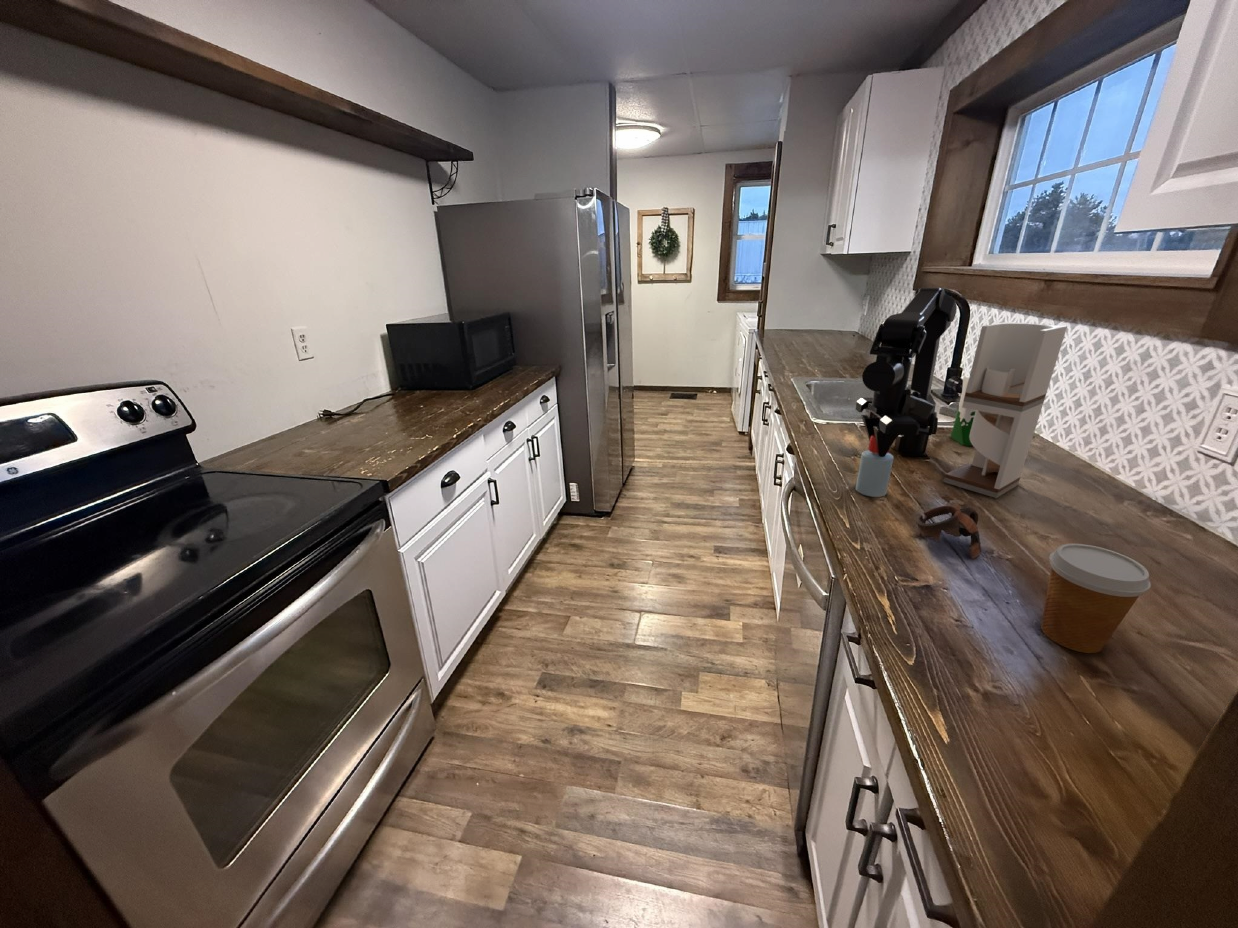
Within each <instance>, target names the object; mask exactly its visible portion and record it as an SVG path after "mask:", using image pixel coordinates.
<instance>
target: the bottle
mask: <svg viewBox="0 0 1238 928" xmlns="http://www.w3.org/2000/svg"><path fill="white" fill-rule="evenodd" d="M894 459H895V458H894V455H893V454H892V453H890V452H888V453H887V454H886V455H885V457H880V456H879V454H877V453H873V452H871V451H869V449H868V450H867V449H866V450H864V451H862V452H861V456H860V463H859V468H858V473H857V479H856V483H855V484H856V485H855V491H856V492H857V493H858V494H861V495H863V496H866V497H873V498H880V497H885V496H886V495H887V493H888V487H889V482H890V477H891V473H892V469H893V463H894Z"/></svg>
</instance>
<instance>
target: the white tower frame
mask: <svg viewBox="0 0 1238 928" xmlns="http://www.w3.org/2000/svg"><path fill="white" fill-rule="evenodd" d="M1067 328H1068V325H1059V324H1058V325H1056V324H1042V323H1041V324H1040V323H1027V322H1025V323H1024V322H1013V321H1012V322H1009V321H1004V322H997V323H992V324H987V325H982V326H981V328H980V333H979V337H978V341H977V345H976V349H975V352H974V356H973V361H972V365H971V369H970V373H969V376H970V377H969V381H968V385H967V389H966V393H965V397H964V401H963V405H962V408H967V409H972V410H976V412H975V416H974V419H973V423H972V427H971V431H970V435H969V439H970V442H971V444H972V445H973V448H974V449H975V451H974V456H973V459H972V463H971V462H967V463H964V464H963V465H961V466H958V467H956V468H954V469H952V470H950V471H948V472H946V473H945V474H944V478H943V481H942V482H943V483H945V484H948V485H952V486H954V487H959V488H962V489H965V490H968V491H971V492H975V493H978V494H981V495H984V496H988V497H991V498H995V499H998V498H999V497H1000V496H1002V495H1004V494H1006V493H1007V492H1009V491H1011V490H1012V489H1014V488H1016V487H1017V486H1019V482H1020V481H1021V480H1020V479H1021V476H1022V473H1023V470H1024V467H1025V464H1026V460H1027V457H1028V454H1029V450H1030V447H1031V444H1032V441H1033V438H1034V435H1035V431H1036V428H1037V425H1038V422H1039V420H1040V415H1041V412H1042V409H1043V405H1044V403H1045V399H1046V396H1047V393H1048V389H1049V386H1050V383H1051V380H1052V376H1053V374H1054V371H1055V367H1056V364H1057V361H1058V359H1059V355H1060V352H1061V348H1062V346H1063V345H1062V344H1063V342H1064V338H1065V335H1066V332H1067Z"/></svg>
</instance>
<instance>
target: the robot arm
mask: <svg viewBox="0 0 1238 928" xmlns="http://www.w3.org/2000/svg"><path fill="white" fill-rule="evenodd" d="M957 308H958V307H957V302H956V299H955V298H954V297H952V296H951V295H949V294H947V293H946V292H945V289H944V288H941V287H921V288H917V289H916V291H915V292H914V296H913V298H912V299H911V300H910V301H909V303H908V304H907V305H906V306H905V307H904V309H903V310H902V311H901V312H900V313H896V314H895V313H894V314H890V316H888V317H887V318H886V319H884V321H883V322H882V323H880V325H879V326H878V329H877V331H876V333H875V337H874V340H873V342H872V345H871V348H870V350H869V355H872V356H876V357H875V361H873V362H871V363H869V364H868V365H867V366H866V367H865V368H864V370H863V372H862V375H861V376H862V377H861V379H862V382H863V385H864V386H865V387H866V388H867V389H868V390H870V391H873V396H872V397H860V398H859V399H858V400H856V403H855V410H856V411H857V413H863V412H864V410H865V413H864V414H861V415H860V418H861V419H862V422H863V425H864V428H865V432H866V435H867V437H868V441H869V442H870V438H871V435H875V438H876V444H877V450H878V454H879V456H880V457H885V455H886V454H887V452H888V450H889V451H890V449H891V447H892V446H893V447H892V449H894V450H895V451H896V452H897V453H899V455H901V456H903V457H928V456H929V454H928V453H927V452H926V451H927V448H928V442H929V438H930V436H932V435H936V434H937V431H938V425H939V418H938V412H937V411H936V405H937V403H936V401H935V399H934V397H933V396H932V394H931V392H932V386H933V380H934V375H935V368H936V364H937V363H936V362H937V357H938V352H939V347H940V341H941V337H942V336H943V335H944V333H946V331H947V330H948V329H949V328H950V327H951V324H952V323H953V322H954V320H955V318H956V314H957ZM913 358H914V364H913V368H912V369H913V370H912V377H911V382H910V388H908V387H907V386H908V383H909V378H910V372H911V367H912V361H913ZM893 443H894V445H893ZM888 453H889V452H888Z"/></svg>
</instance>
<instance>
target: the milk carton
mask: <svg viewBox="0 0 1238 928" xmlns="http://www.w3.org/2000/svg"><path fill="white" fill-rule="evenodd" d="M969 377H970V375H963V376H962V389H961V395H960V399H959V403H958V408H957V412H956V415H955V420H954V423H953V427H952V430H951V433H950V436H949V438H950V439H952V440H954V441H955V442H957V443H959V444H960V445H962V446H973V445H972V444H971V442H970V439H969V435H970V431H971V427H972V423H973V419H974V416H975V412H976V410H972V409H967V408H962V405H963V401H964V397H965V393H966V389H967V385H968V381H969ZM973 447H974V446H973Z"/></svg>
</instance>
